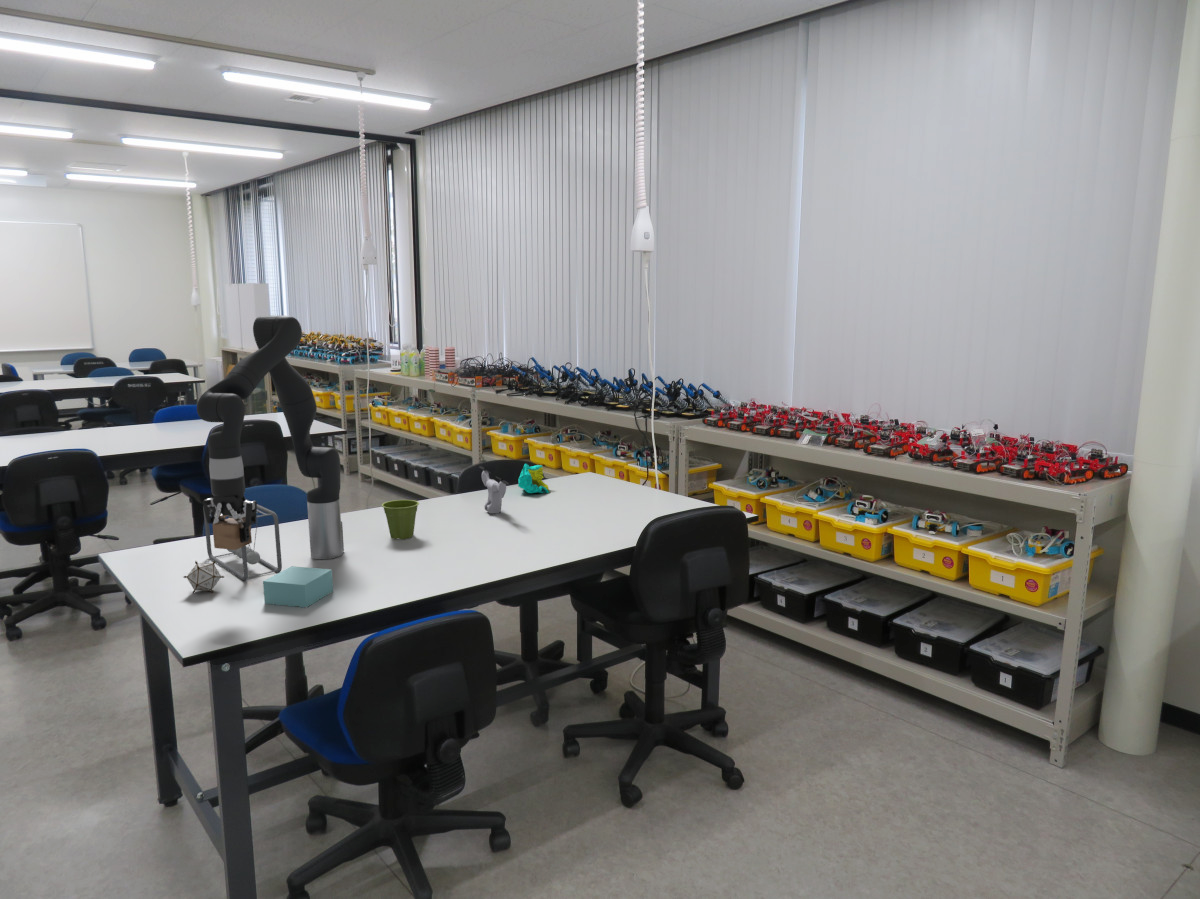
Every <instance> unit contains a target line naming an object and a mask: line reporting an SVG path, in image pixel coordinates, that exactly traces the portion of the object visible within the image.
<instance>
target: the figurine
mask: <svg viewBox="0 0 1200 899" xmlns="http://www.w3.org/2000/svg"><path fill="white" fill-rule="evenodd" d="M478 467H479V469H480V470H482V472H481V480H482V483H483V486H484V487H486V488H487V501H486V502H485V504H484V510H485V511H486V512H488V514H491V513H497V514H500V513H501V511H502V507H503V506H502V501H503V498H504V497H505V494H506V492H507V486H509V485H510V483H509V482H508V480H507V481H506V480H504V478H503V477H501V478H500V477H498V476H496V475H495V478H496V479H498V480H499V482H498V481H496V480H495V479H494V478H490V475H489V474H491V471H489V470H487V468H486V467H483V465H479V466H478ZM499 512H500V513H499ZM491 515H492V514H491Z"/></svg>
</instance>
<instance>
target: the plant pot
mask: <svg viewBox="0 0 1200 899" xmlns="http://www.w3.org/2000/svg"><path fill="white" fill-rule="evenodd" d="M419 505H420V502H419V501H417V500H413V499H395V500H389V501H385V502H383V503H382V504H381V507H382V508H383V511H384V514H385V516H386V522H387V526H388V531H389V534H390V539H393V540H402V541H403V540H406V539H409V540H410V539H411V538H412V537H413V536H414V534H415V533H414V532H415V524H416V516H417V511H418V507H419Z"/></svg>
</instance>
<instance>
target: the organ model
mask: <svg viewBox="0 0 1200 899" xmlns="http://www.w3.org/2000/svg"><path fill="white" fill-rule="evenodd" d="M543 471H544V469H543V465H542V464H541V465H539V464H537V465H533V466H532V465H531V466H530V465H529V464H528V463H524V465H523V468H522V469H521V472H520V474H519V477H518V485H517V486H518V488H520V489H523V490H524V491H525V492H526V493H528V494H534V493H535V494H536V493H539V494H544V493H545V494H546V493H547V494H549V493H550V489H549V485H548V484H547V483H545V482H544V480H542V479H544V472H543Z"/></svg>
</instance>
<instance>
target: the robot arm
mask: <svg viewBox="0 0 1200 899" xmlns="http://www.w3.org/2000/svg"><path fill="white" fill-rule="evenodd" d="M252 332H253V339H254V342H255V343H256V346H257V348H258V349H257V350H256V351H254V352H252V353H250V354H248V355H247V356H245V357H243V358H242V359H241V360H239V361H238V362H237V363H236V364H235V365H234V366H233V367H232V369H231V370H230V371H229V372H228V373H227V374H226V376H225V377H224V378H223V379H221V380H220V381H218V382H216V383H215V384H214V385H213V386H211V387H210V388H208V389H207V390H206V391H205V392H203V393H202V394H201V396H200V397H199V399H198V400H197V405H196V413H197V415H198V417H199V418H200V419H201V420H203V421H204V422H207V423H222V424H223V426H222V429H221V431H216V432H213V433H211V434H209V436H208V439H207V445H208V455H209V456H208V457H209V463H208V468H209V469H208V470H209V478H210V488H211V489H210V490H211V496H212V495H213V497H209V498H206V499H203V500H202V505H203V506H202V507H204V510H203V512H204V511H205V516H206V521H207V523H209V524H211V525H212V524H215V523H218V522H220V521H223V520H225V519H227V517H228V516H227V515H229V516H233V518H234V520H235V521H237V523H238V524H239V527H240V529H239V531H240V542H241V543H245V542H247V541H248V540H249V538H250V534H249V526H251V525H252V526H253V525H255V524H257V518H256V516H257V513H258V512H257V510H258V509H257V504H258V503H257V501H256V500H252V501H251V500H249V501H246V499H247V498H246V497H245V493H246V482H245V480H246V479H245V471H244V463H243V458H242V451H241V449H242V448H241V436H242V435H241V434H242V431H243V424H244V419H245V416H246V415H245V414H246V406H245V402H244V400H246V399H247V398H249V397H250V396H251V395H252V394H253V393H254V391H255V389H256V388H257V386H258V385H259V384H260V383H261V382H262V380H263V379H264V378H265V376H266V375H268V374H269V375H270V378H271V380H272V383H273V387H274V389H275V393H276V395H277V399H278V402H279V404H280V407H281V411H282V413H283V416H284V419H285V421H286V424H287V427H288V430H289V434H290V437H291V441H292V445H293V449H294V455H295V460H296V462H297V466H298V469H299V472H300V473H301V474H302V475H303V476H304V477H306V478H311V479H312V478H313V479H315V478H316V479H321V484H320V486H318V487H315V488H312V489H310V490H308V491H307V492H306V503H307V504H306V505H307V518H308V533H309V547H310V548H309V549H310V558H312V559H315V560H331V559H334V558H339V557H340V556H342V555H343V554H344V553H343V552H344V551H345V549H344V547H345V546H344V530H343V529H344V528H343V527H344V526H343V522H342V518H341V517H342V516H341V503H340V502H341V501H340V493H341V492H340V491H341V458H340V453H339V452H338V450H337V449H336V448H334V447H327V446H324V447H323V446H315V445H314V444H313V442H312V439H311V428H312V425H313V422H314V420H315V418H316V414H317V409H318V408H317V401H316V399H315V396H314V392H313V389H312V388H311V385H310V384H309V383H308V381H307V380H306V379H305V378H304V377H303V376H302V375H301V374H300V373H299V371H297V370H296V369H295V368H294V367H293V366H292V365H291V363H289V361H288V359H287V358H286V357H287V356H288V355H289V354H291V353H292V352H294V350H295V349H296V348H297V347H298V346H299V344H300V343H301V339H302V337H303V336H302V335H303V330H302V326H301V323H300V321H299V320H298V319H297V318H296V317H294V316H291V315H284V314H283V315H260V316H258V317H256V318H255V319H254V322H253V325H252ZM250 501H251V502H250ZM215 506H216V508H217V509H215ZM256 512H257V513H256ZM240 513H241V515H240V516H239V515H238V514H240ZM242 520H243V521H242ZM243 522H244V523H243Z"/></svg>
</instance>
